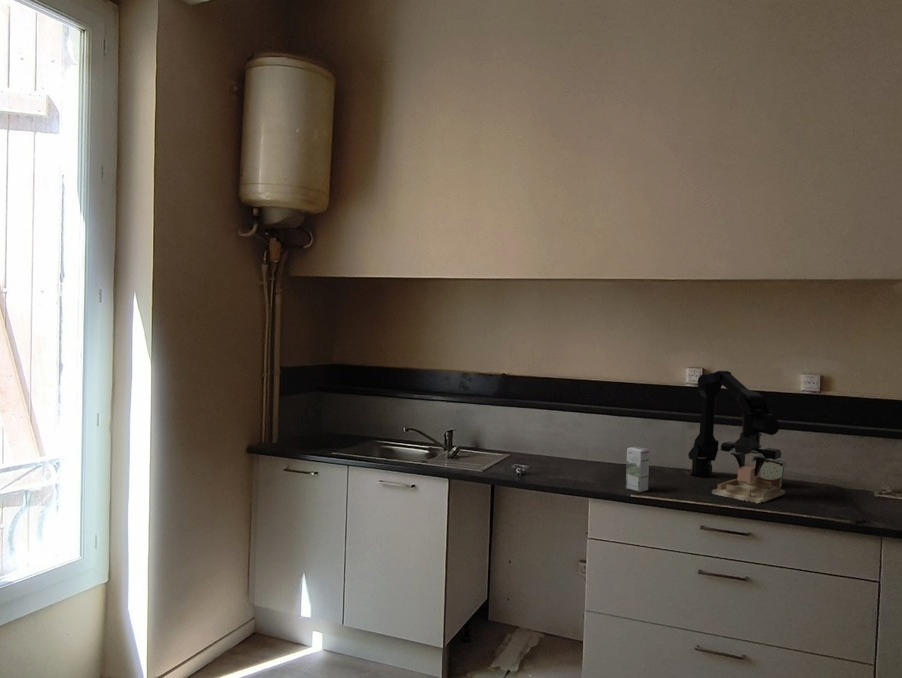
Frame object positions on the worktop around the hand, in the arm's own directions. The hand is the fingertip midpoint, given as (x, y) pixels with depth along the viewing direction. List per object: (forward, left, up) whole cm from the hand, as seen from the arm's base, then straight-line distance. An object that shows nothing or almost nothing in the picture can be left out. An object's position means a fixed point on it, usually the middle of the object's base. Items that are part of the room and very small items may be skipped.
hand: (749, 474), depth 228 cm
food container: (-1, +22, -7) cm, 23 cm away
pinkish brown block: (0, 0, -1) cm, 1 cm away
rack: (0, 0, -7) cm, 7 cm away
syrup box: (-27, -28, -7) cm, 39 cm away
